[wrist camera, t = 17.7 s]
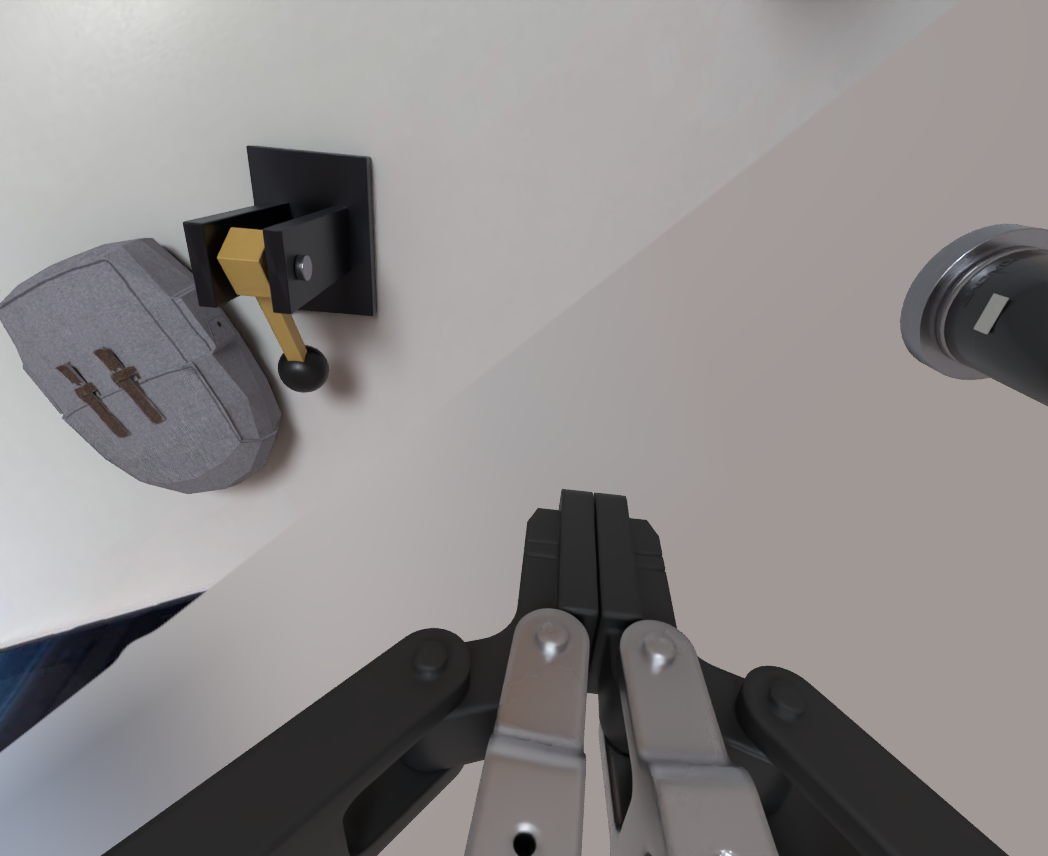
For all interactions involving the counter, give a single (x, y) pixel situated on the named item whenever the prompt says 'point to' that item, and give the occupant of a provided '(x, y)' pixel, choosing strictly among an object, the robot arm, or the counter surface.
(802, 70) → the counter surface
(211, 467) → the soft grey pack
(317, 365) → the lever
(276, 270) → the lock bracket
